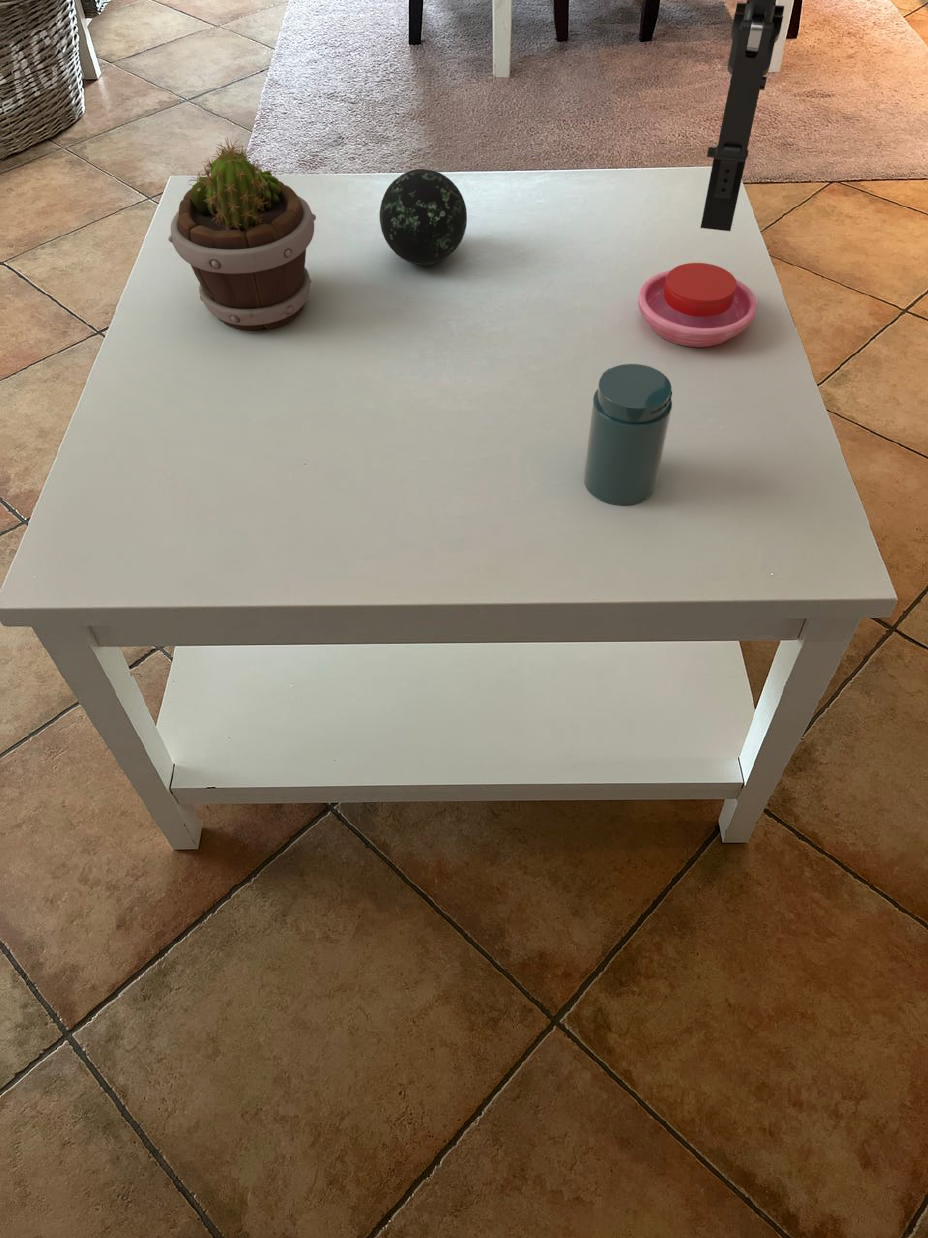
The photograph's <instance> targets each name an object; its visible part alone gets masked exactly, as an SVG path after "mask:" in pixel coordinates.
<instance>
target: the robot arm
mask: <svg viewBox="0 0 928 1238" xmlns="http://www.w3.org/2000/svg"><path fill="white" fill-rule="evenodd" d="M784 11H785V5H780V4H779V5H778V4H777V0H746V2H736V7H735V12H734V16H733V19H732V20H733V21H732V24H731V30H730V38H731V41H732V42H731V45H730V52H729V57H728V62H727V72H728V73H729V74H730V79H729V86H728V91H727V95H726V99H725V100H726V101H725V105H724V109H723V110H724V112H723V117H722V121H721V126H720V132H719V135H718V136H719V138H718V142H717V146H715V147H714V146H708V147H707V154H706V158H712V165H711V171H710V177H709V181H708V182H709V183H708V186H707V190H706V191H707V192H706V196H705V201H704V206H703V207H704V208H703V213H702V218H701V223H700V229H706V230H715V231H724V232H731V230H732V226H733V221H734V217H735V213H736V208H737V203H738V198H739V193H740V188H741V184H742V179H743V176H744V170H745V166H746V162H747V159H748V156H749V152H750V151H749V149H748V147H749V143H750V138H751V133H752V129H753V124H754V120H755V115H756V110H757V104H758V101H759V96H760V91H765V89H766V83H767V79H768V76H766V75H768V73H769V71H770V66H771V63H772V59H773V53H774V48H775V43H777V41H778V40H779V38H780V34H781V29H782V25H783V20H784Z"/></svg>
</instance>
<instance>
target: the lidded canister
mask: <svg viewBox="0 0 928 1238" xmlns="http://www.w3.org/2000/svg"><path fill="white" fill-rule="evenodd" d="M672 389H673V388H672V384H671V381H670V380H669V378H668V377H667V376H666V375H665V374H664V372H663V373H662V372H661V371H660V370H658V369H656V368H654V367H652V366H649V365H645V364H640V363H625V364H620V365H619V364H618V365H615V366H613V367H611V368H608V369H607V370H605V371H604V372H603V373H602V375H601V376H600V378H599V381H598V387H597V389H596V390H595V392H594V394H593V398H592V406H591V416H590V423H589V432H588V439H587V448H586V457H585V466H584V474H583V482H584V485H585V488H586V489H587V491H588V492H589V493H590V494H591V495H592V496H593V497H595V498H596V499H597V500H600V501H602V502H603V503H607V504H609V505H610V504H611V505H616V506H631V505H636V504H639V503H642V502H644V501H646V500H648V499H649V498H650V497H651V496H652V494H653V493H654V492H655V491H656V487H657V482H658V478H659V473H660V468H661V464H662V458H663V454H664V448H665V443H666V439H667V433H668V428H669V423H670V419H671V415H672V409H673V400H672V396H673V391H672Z"/></svg>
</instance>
